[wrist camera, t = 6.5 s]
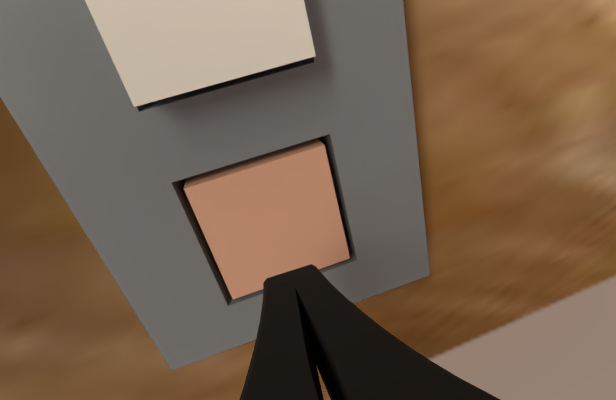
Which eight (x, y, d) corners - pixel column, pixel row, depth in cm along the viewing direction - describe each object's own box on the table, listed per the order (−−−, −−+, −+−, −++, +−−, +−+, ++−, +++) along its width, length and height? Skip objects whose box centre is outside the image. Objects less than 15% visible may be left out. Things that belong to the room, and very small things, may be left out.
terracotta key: (231, 270, 16) (232, 299, 14) (188, 169, 13) (183, 188, 12) (335, 234, 16) (350, 258, 14) (310, 132, 14) (324, 145, 12)
